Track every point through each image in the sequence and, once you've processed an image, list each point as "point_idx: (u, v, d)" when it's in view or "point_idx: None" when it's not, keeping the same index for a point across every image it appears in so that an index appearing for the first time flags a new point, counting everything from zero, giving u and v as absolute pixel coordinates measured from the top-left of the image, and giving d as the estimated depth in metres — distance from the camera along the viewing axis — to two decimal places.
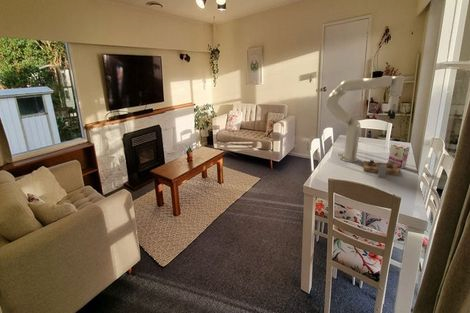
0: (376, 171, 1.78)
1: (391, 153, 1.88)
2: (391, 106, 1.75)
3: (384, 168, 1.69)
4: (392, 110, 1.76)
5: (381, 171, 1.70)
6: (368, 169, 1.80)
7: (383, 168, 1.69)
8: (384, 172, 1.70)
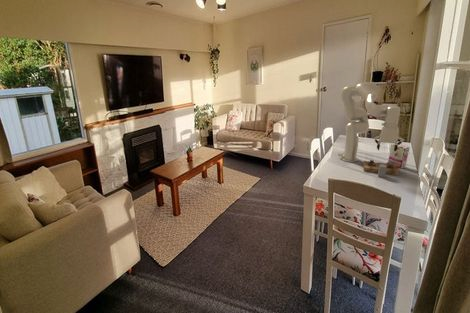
0: (376, 171, 1.78)
1: (391, 153, 1.88)
2: (397, 138, 1.60)
3: (384, 168, 1.69)
4: (395, 142, 1.62)
5: (381, 171, 1.70)
6: (368, 169, 1.80)
7: (383, 168, 1.69)
8: (384, 172, 1.70)
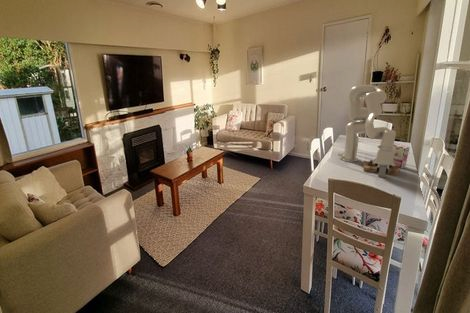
0: (376, 171, 1.78)
1: None
2: (393, 161, 1.65)
3: (384, 168, 1.69)
4: (387, 164, 1.69)
5: (381, 171, 1.70)
6: (368, 169, 1.80)
7: (383, 168, 1.69)
8: (384, 172, 1.70)
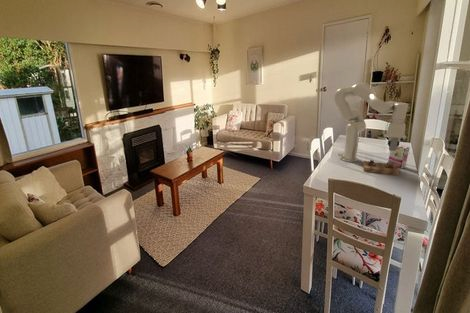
0: (376, 171, 1.78)
1: (391, 153, 1.88)
2: (404, 133, 1.67)
3: (395, 141, 1.71)
4: None
5: (392, 144, 1.72)
6: (368, 169, 1.80)
7: (394, 141, 1.71)
8: (395, 145, 1.72)
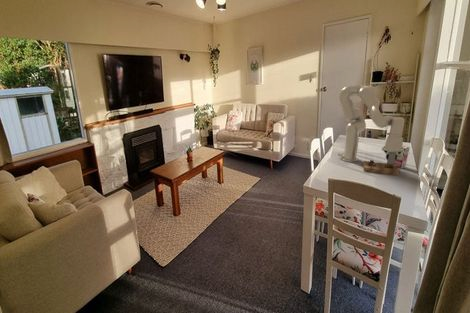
0: (376, 171, 1.78)
1: None
2: None
3: (393, 154, 1.74)
4: (396, 151, 1.74)
5: (390, 158, 1.76)
6: (368, 169, 1.80)
7: (392, 154, 1.74)
8: (393, 158, 1.75)
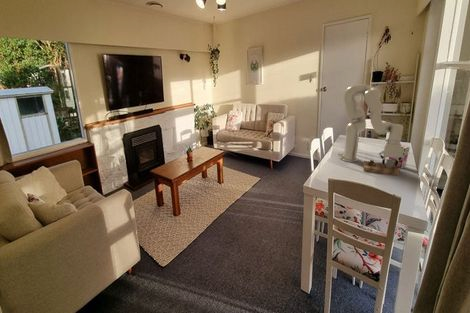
0: (376, 171, 1.78)
1: None
2: (400, 154, 1.73)
3: (391, 163, 1.77)
4: (396, 157, 1.76)
5: (388, 166, 1.78)
6: (368, 169, 1.80)
7: (390, 163, 1.77)
8: (391, 167, 1.78)
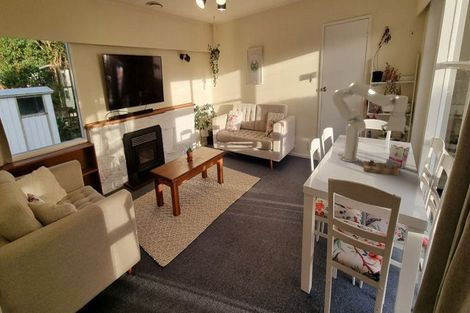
0: (376, 171, 1.78)
1: (391, 153, 1.88)
2: (404, 127, 1.67)
3: (391, 163, 1.77)
4: None
5: (388, 166, 1.78)
6: (368, 169, 1.80)
7: (390, 163, 1.77)
8: (391, 167, 1.78)
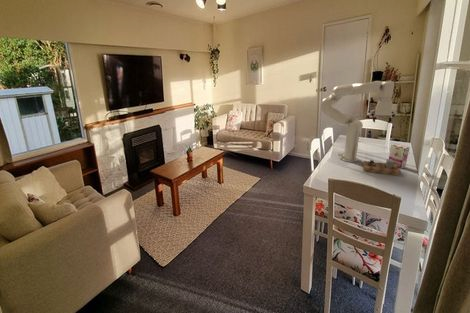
0: (376, 171, 1.78)
1: (391, 153, 1.88)
2: (391, 111, 1.76)
3: (391, 163, 1.77)
4: (389, 115, 1.78)
5: (388, 166, 1.78)
6: (368, 169, 1.80)
7: (390, 163, 1.77)
8: (391, 167, 1.78)
